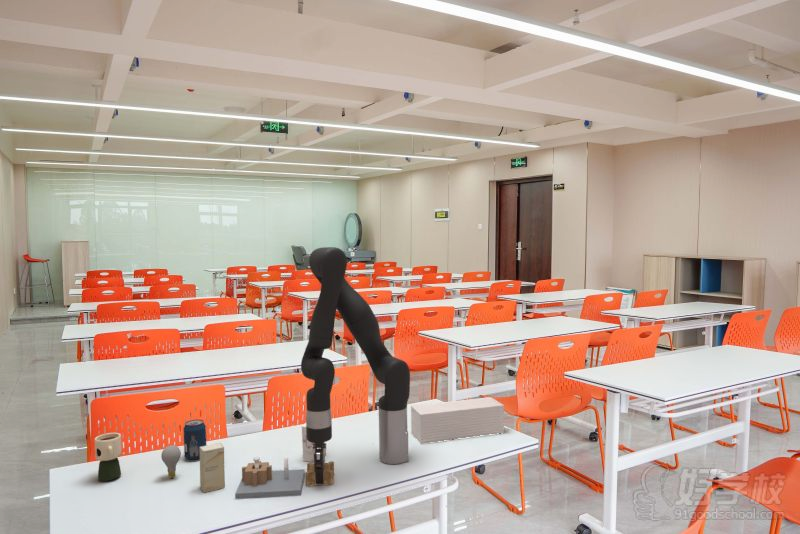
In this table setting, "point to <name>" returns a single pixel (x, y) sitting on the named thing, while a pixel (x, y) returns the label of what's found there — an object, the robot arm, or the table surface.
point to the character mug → (108, 455)
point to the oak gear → (327, 474)
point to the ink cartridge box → (306, 446)
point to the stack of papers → (456, 419)
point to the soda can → (194, 439)
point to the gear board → (269, 481)
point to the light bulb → (171, 459)
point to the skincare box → (212, 467)
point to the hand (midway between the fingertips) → (320, 478)
